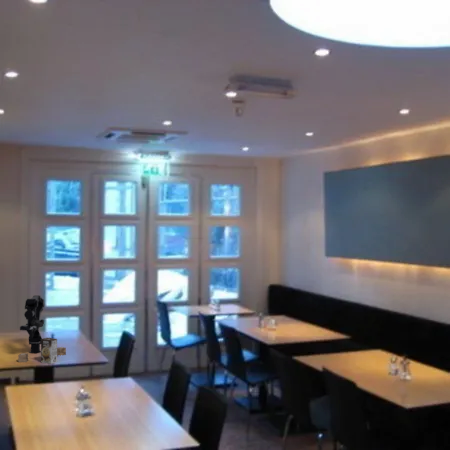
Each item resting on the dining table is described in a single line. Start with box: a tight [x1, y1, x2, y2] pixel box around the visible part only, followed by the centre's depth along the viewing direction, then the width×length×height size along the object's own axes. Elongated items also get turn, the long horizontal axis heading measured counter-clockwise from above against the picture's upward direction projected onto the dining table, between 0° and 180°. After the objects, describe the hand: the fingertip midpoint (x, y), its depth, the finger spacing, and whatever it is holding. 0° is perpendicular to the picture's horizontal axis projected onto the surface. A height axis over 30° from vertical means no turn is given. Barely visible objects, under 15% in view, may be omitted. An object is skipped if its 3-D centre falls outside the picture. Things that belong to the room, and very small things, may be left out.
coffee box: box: [40, 337, 58, 365], centre depth 411 cm, size 9×6×16 cm
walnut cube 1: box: [17, 352, 29, 363], centre depth 413 cm, size 5×5×5 cm
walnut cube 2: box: [57, 346, 67, 357], centre depth 433 cm, size 5×5×5 cm
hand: (31, 338), depth 427 cm, fingers closed
